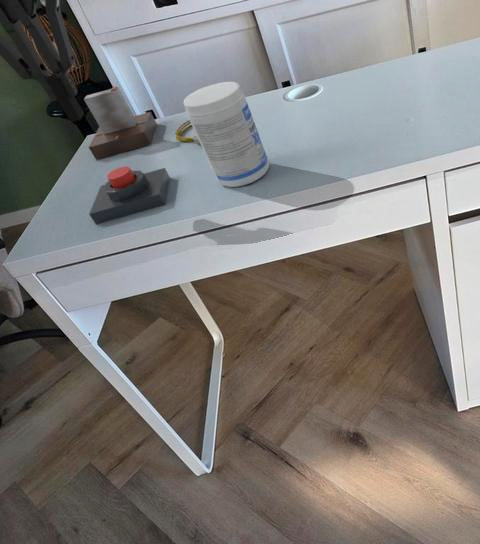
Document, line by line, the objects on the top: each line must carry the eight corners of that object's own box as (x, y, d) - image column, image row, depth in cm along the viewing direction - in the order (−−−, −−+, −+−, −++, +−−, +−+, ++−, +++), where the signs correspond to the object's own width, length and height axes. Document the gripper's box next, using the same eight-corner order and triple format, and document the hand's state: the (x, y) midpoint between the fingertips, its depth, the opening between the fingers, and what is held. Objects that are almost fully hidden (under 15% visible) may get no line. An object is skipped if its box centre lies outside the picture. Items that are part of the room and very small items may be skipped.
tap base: (96, 160, 104) (87, 146, 102) (106, 137, 113) (99, 125, 111) (150, 144, 105) (143, 131, 103) (156, 123, 114) (150, 110, 112)
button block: (96, 224, 82) (82, 205, 80) (107, 195, 90) (95, 177, 87) (165, 205, 83) (154, 185, 80) (170, 178, 91) (160, 158, 88)
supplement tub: (279, 171, 84) (250, 87, 75) (230, 195, 81) (194, 111, 71) (256, 155, 91) (226, 76, 81) (210, 177, 88) (173, 98, 78)
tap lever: (104, 134, 106) (83, 98, 101) (106, 130, 108) (85, 94, 103) (135, 126, 106) (116, 89, 101) (137, 122, 108) (117, 85, 103)
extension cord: (173, 157, 98) (169, 148, 96) (179, 126, 110) (175, 118, 108) (232, 140, 98) (228, 131, 97) (232, 112, 110) (229, 103, 109)
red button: (111, 191, 83) (104, 181, 81) (115, 180, 86) (109, 170, 84) (134, 185, 83) (128, 174, 81) (137, 174, 86) (131, 164, 84)
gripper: (-94, -43, 58) (29, 138, 74) (14, -70, 59) (114, 115, 74) (-65, -50, 64) (43, 119, 79) (33, -74, 65) (122, 99, 80)
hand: (77, 117), depth 77 cm, fingers closed
